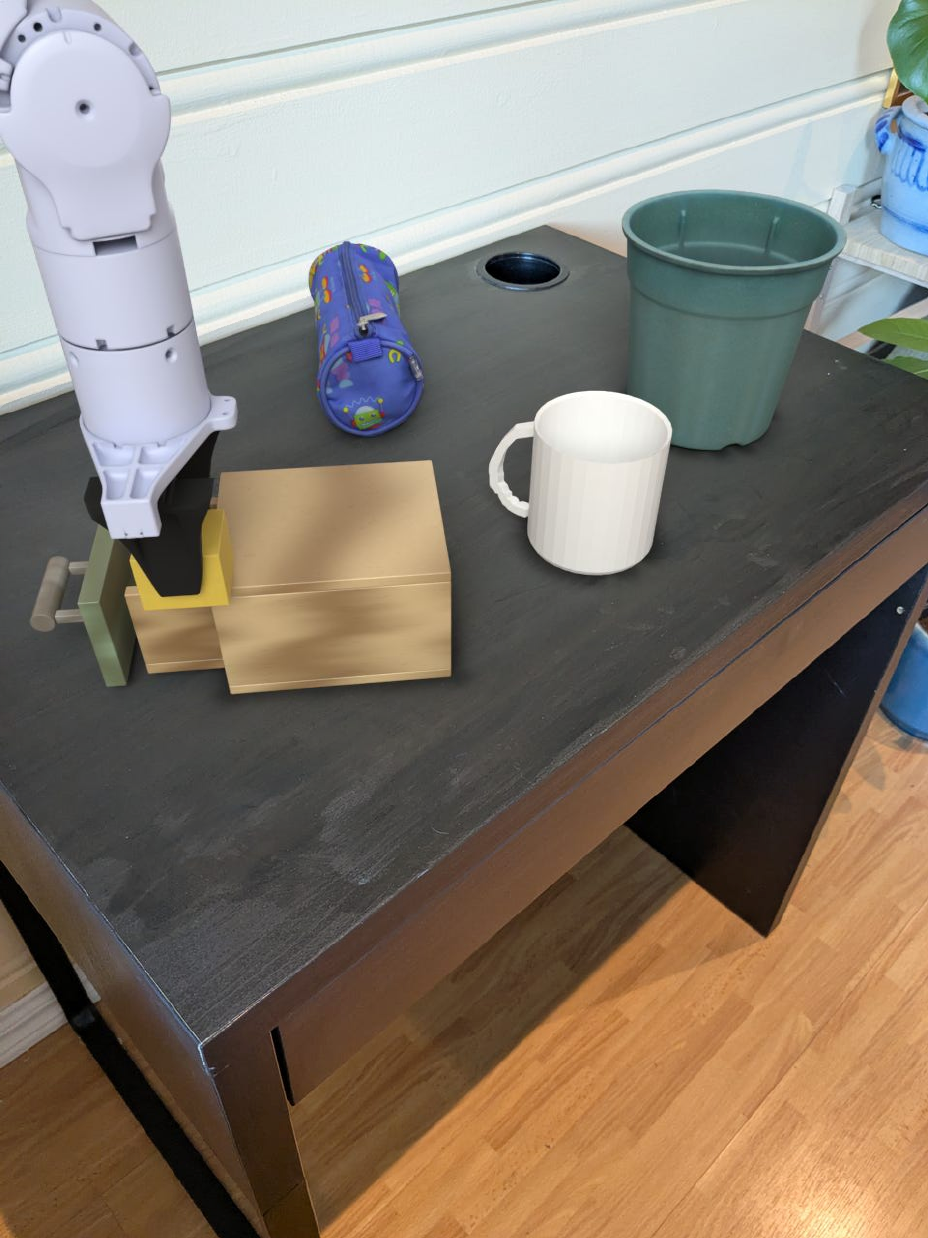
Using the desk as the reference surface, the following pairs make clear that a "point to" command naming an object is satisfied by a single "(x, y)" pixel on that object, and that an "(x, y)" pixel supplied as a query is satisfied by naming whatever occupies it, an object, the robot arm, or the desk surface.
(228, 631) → the cabinet
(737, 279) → the flower pot
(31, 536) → the desk surface
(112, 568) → the drawer
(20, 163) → the robot arm
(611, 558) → the mug
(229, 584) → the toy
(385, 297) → the pencil case
